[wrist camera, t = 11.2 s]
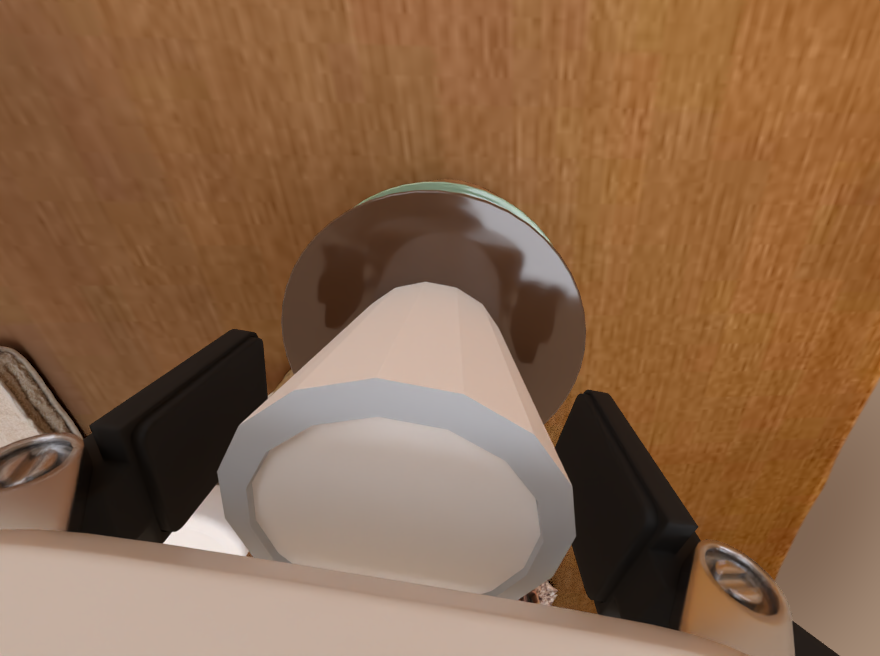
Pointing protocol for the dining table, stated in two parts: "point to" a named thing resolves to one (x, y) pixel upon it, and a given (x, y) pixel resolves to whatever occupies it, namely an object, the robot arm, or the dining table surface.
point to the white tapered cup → (405, 456)
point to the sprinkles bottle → (212, 522)
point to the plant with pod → (541, 595)
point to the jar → (443, 277)
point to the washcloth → (27, 402)
